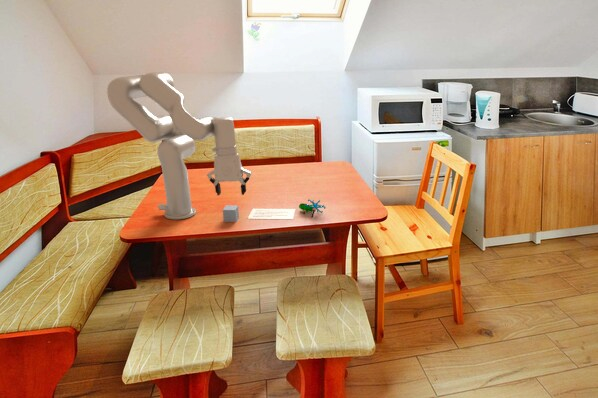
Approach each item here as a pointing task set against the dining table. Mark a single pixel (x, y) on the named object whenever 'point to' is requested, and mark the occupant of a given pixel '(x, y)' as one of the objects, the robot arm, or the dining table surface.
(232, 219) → the cube
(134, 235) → the dining table surface
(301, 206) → the stick construction toy
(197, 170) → the dining table surface
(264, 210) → the letter
